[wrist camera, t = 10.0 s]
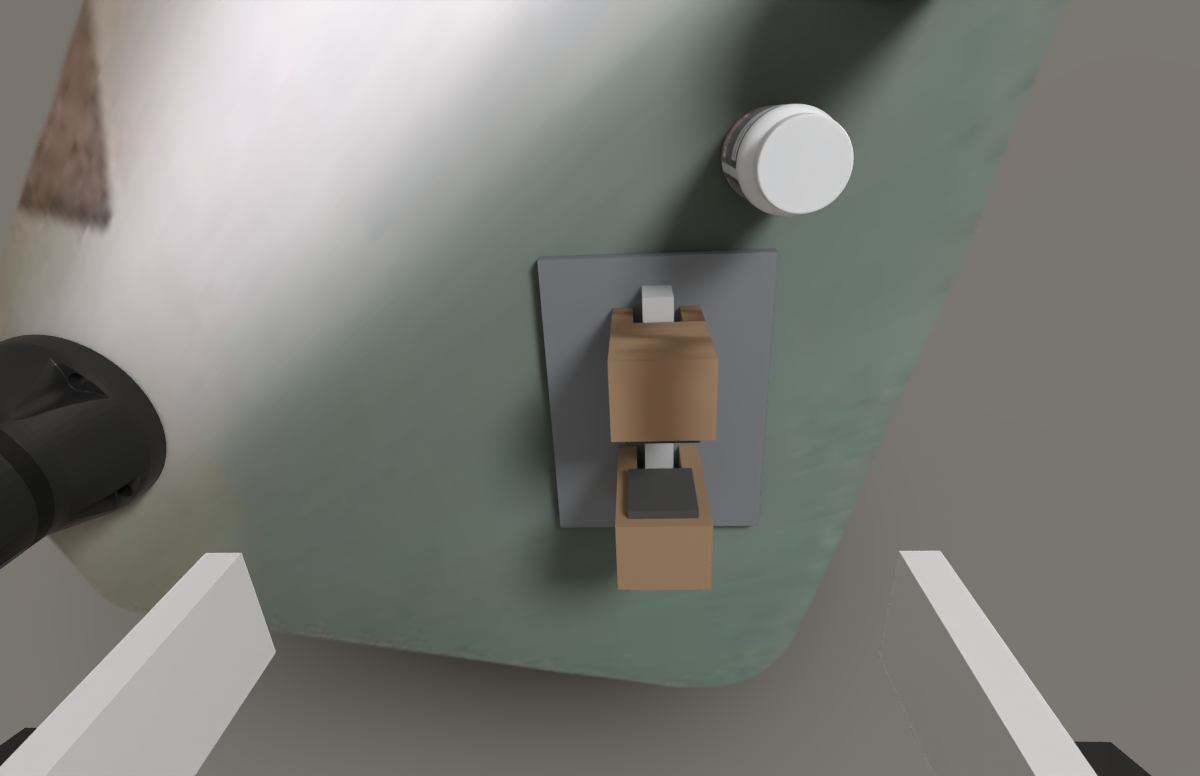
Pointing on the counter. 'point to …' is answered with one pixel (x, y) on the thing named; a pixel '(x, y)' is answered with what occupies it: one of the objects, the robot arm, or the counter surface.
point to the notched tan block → (662, 379)
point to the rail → (588, 370)
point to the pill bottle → (787, 159)
